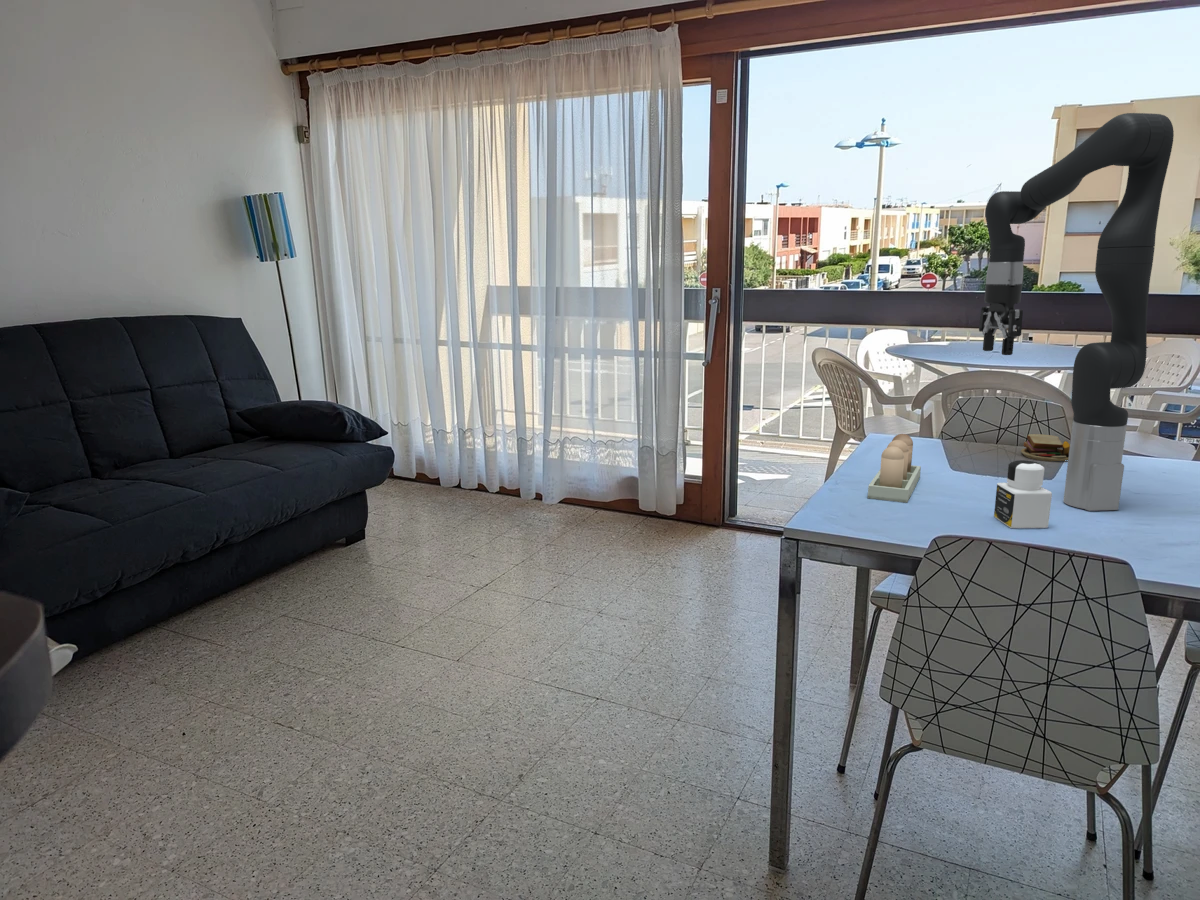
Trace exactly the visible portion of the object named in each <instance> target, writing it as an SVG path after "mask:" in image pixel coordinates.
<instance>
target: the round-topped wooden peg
mask: <svg viewBox="0 0 1200 900" xmlns="http://www.w3.org/2000/svg"><path fill="white" fill-rule="evenodd" d="M894 440H901V441H903V442H905V443H906V444H907V446H908V449H909V453H908V466H907V473H911V465H912V463H913V449H914V441H913V439H912V438H911V436H910V435H909V434H906V433H899V434H896V435H895V436H894V437H893V438H892V440H891V442H892V441H894Z"/></svg>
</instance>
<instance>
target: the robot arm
mask: <svg viewBox="0 0 1200 900" xmlns="http://www.w3.org/2000/svg"><path fill="white" fill-rule="evenodd" d="M1174 135H1175V134H1174V126H1173V123H1172V121H1171V119H1170V117H1167V115H1164V114H1161V113H1145V112H1126V113H1122V114H1119V115H1118V114H1117V115H1116V116H1114V117H1113V118H1111V119H1110V120H1108V121H1106V122H1105V123H1104V124H1103V125H1102V126H1100V127H1099V128H1098V129H1097V130H1096V131H1094V132H1093V133H1092V134H1091V135H1089V136H1088V137H1087V138H1086V139H1085V140H1084V141H1082V142H1081V143H1080V144H1079V145H1077V147H1076V148H1074V149H1073V150H1072V151H1071V152H1070V153H1068V154H1067V155H1065V156H1064V157H1063V158H1061V159H1060V160H1059V161H1057V162H1056V163H1054V164H1053V165H1051V166H1050V167H1047V168H1046V169H1044V170H1042V171H1041V172H1039V173H1037V174H1035V175H1033V176H1032V177H1030V178H1029V179H1028V180H1026V181H1025V182H1024V183H1023V185H1022V186H1021V190H1019V191H1017V190H1016V191H1012V190H1011V191H1009V190H1008V191H1006V190H1005V191H997V192H995V193H993V194H992V195H991V196H990V198H989V199H988V200H987V203H986V206H985V222H986V226H987V233H988V238H989V243H990V248H989V258H988V259H989V260H988V267H987V271H986V280H985V286H984V287H985V288H984V297H983V298H984V299H983V300H984V303H985V304H989V306H981V308H980V316H979V326H978V331H979V332H980V333H982V335H983V341H982V351H983V352H993V350H994V345H995V344H994V343H995V334H996V332H997V329H998V330H999V331H1000V332H1001V334H1002V337H1003V338H1002V345H1001V355H1003V356H1012V355H1013V351H1014V342H1015V339H1016V338H1018V337H1021V336H1022V330H1023V329H1022V328H1023V327H1022V326H1023V314H1024V311H1023V309H1022V308H1021V309H1019V308H1018V309H1017V308H1016V309H1015V305H1016V304H1019V303H1021V300H1022V299H1021V298H1022V291H1023V283H1024V258H1025V247H1026V239H1025V238H1024V237H1023V236H1022V235H1019V234H1016V233H1014V232H1013V230H1012V226H1011V225H1020V224H1021V225H1022V224H1026V223H1028V222H1031V221H1032V220H1034V219H1035V218H1036V217H1038V216H1039V215H1040V214H1041V213H1042V212H1043V211H1044V210H1045V209H1046V208H1047V207H1048V206H1050V205H1053V204H1055V203H1056V202H1058V201H1060V200H1062V199H1063V198H1065V197H1067V196H1069V195H1070V194H1072V193H1073V192H1074V190H1076V189H1077V188H1078V186H1079V185H1080V183H1081V182H1082V180H1083V179H1084V178H1085V177H1086V176H1088V175H1090V174H1091V173H1093V172H1095V171H1096V172H1097V171H1098V170H1101V169H1103V168H1107V167H1111V166H1117V167H1128V172H1127V173H1128V174H1127V181H1126V187H1125V192H1124V194H1123V196H1122V199H1121V202H1120V203H1119V205H1118V206H1117V208H1116V210H1115V211H1114V213H1113V215H1112V216H1111V217H1110V218H1109V220H1108V221H1107V223H1106V225H1105V227H1104V228H1103V230H1102V232H1101V234H1100V236H1099V239H1098V242H1097V249H1096V260H1095V268H1094V270H1095V271H1094V273H1095V279H1096V282H1097V285H1098V287H1099V289H1100V291H1101V294H1102V295H1103V297H1104V299H1105V301H1106V304H1107V305H1108V309H1109V311H1110V315H1111V334H1110V335H1111V337H1110V341H1106V342H1105V341H1103V342H1099V341H1098V342H1091V343H1087V344H1085V345H1084V346H1082V347H1081V348H1080V349H1079V351H1078V352H1077V354H1076V356H1075V360H1074V363H1073V369H1072V381H1071V382H1072V383H1071V386H1072V387H1071V399H1070V403H1071V408H1072V411H1073V416H1072V417H1073V418H1072V425H1071V426H1072V428H1071V435H1070V442H1069V445H1070V449H1069V457H1068V461H1067V466H1066V467H1067V468H1066V474H1065V481H1064V482H1065V483H1064V492H1063V503H1065V504H1066V505H1068V506H1071V507H1073V508H1077V509H1083V510H1085V511H1088V512H1089V511H1095V512H1096V511H1098V512H1099V511H1119V505H1120V500H1121V491H1122V484H1123V477H1124V470H1125V465H1124V463H1122V461H1123V454H1124V450H1125V449H1124V447H1125V442H1126V434H1127V425H1128V420H1129V419H1128V418H1129V413H1128V410H1127V409H1126V408H1124V407H1122V406H1119V405H1116V404H1114V403H1113V402H1112V400H1111V390H1112V389H1127V388H1131V387H1134V386H1135V385H1137V384H1138V383H1139V381H1140V380H1141V379H1142V377H1143V375H1144V374H1145V373H1144V372H1145V370H1146V365H1147V364H1146V363H1147V349H1148V348H1147V345H1148V342H1147V330H1148V329H1147V325H1148V324H1147V320H1148V319H1147V317H1148V307H1149V306H1148V304H1149V296H1150V295H1149V293H1150V283H1151V277H1152V270H1153V263H1154V255H1155V248H1156V235H1157V226H1158V218H1159V212H1160V206H1161V199H1162V193H1163V189H1164V183H1165V180H1166V175H1167V170H1168V166H1169V164H1170V159H1171V154H1172V151H1173V150H1172V149H1173V145H1174V137H1175V136H1174Z"/></svg>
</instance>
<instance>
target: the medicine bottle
mask: <svg viewBox="0 0 1200 900" xmlns="http://www.w3.org/2000/svg"><path fill="white" fill-rule="evenodd" d="M1045 470H1046V469H1045V466H1044V465H1043V464H1042V463H1040V462H1037V461H1034V460H1033V461H1032V460H1025V459H1023V460H1021V459H1020V460H1019V459H1018V460H1014V461H1010V462H1009V463H1008V469H1007V475H1006V482H997V484H996V491H995V492H996V493H995V501H994V511H993V517H994V518H995V519H996V520H997V521H1000V523H1002V524H1003V525H1005V526H1007V527H1008V528H1010V529H1048V528H1049V523H1050V516H1051V507H1052V497H1053V493H1052V491H1050V490H1048V489H1046V488H1044V487H1042V486H1043V484H1044V477H1045V476H1044V475H1045Z"/></svg>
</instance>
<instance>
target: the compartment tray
mask: <svg viewBox="0 0 1200 900" xmlns="http://www.w3.org/2000/svg"><path fill="white" fill-rule="evenodd" d="M908 453H909V449H908V446H907V444H906V443H905V442H903V441H901V440H894V441H892V440H891V441H890V442H889V443H888V445H887V446H886V448H885V449H883V450H882V453H881V458H880V469H879V470H878V472H877V473H876V474H875V476H874V477H873V478H872V480H871V481H870V483H869V484H868V487H867V499H870V500H878V501H879V500H880V501H889V502H898V503H903V504H904V503H905V504H906V503H908V502H909V500H910V498H911V496H912V494H913V492H914V491H915V488H916V487H917V484H918V483H917V482H919V481H918V480H920V479H919V478H921V468H922V466H921V465H912V464H911V473H907V466H908Z"/></svg>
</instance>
